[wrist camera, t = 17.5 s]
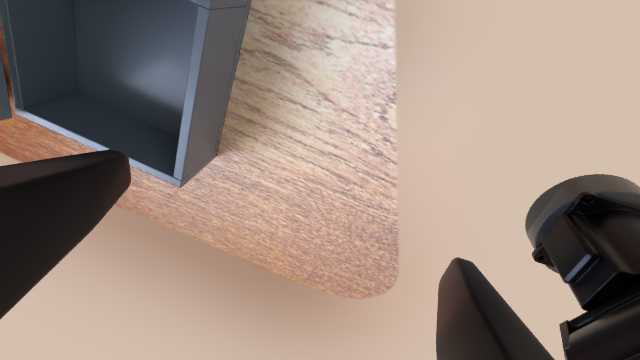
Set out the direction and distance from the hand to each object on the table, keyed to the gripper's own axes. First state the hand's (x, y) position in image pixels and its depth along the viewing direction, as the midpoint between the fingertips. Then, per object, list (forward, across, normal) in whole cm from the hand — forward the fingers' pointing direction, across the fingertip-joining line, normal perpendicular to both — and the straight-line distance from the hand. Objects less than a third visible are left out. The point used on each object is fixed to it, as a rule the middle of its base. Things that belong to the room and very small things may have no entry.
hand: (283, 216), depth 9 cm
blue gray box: (+13, +13, +1) cm, 18 cm away
